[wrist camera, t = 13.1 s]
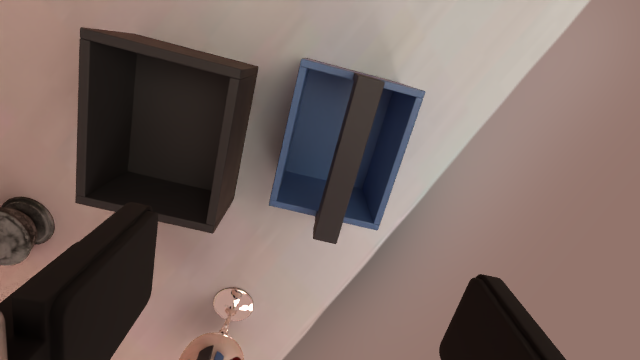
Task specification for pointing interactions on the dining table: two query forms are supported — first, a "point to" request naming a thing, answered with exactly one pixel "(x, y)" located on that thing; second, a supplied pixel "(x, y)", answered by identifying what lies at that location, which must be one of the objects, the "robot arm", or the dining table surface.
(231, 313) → the wineglass
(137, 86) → the black tote
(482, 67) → the dining table surface
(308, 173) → the blue tote
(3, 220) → the grey chess piece
